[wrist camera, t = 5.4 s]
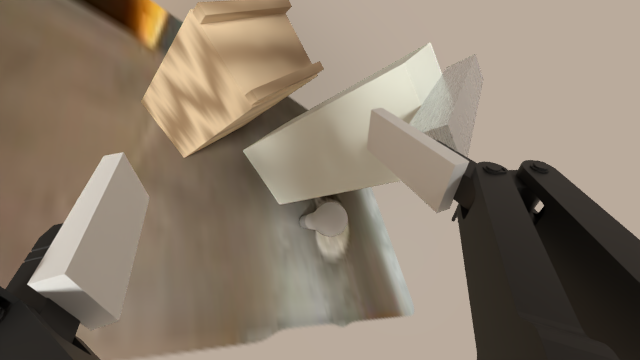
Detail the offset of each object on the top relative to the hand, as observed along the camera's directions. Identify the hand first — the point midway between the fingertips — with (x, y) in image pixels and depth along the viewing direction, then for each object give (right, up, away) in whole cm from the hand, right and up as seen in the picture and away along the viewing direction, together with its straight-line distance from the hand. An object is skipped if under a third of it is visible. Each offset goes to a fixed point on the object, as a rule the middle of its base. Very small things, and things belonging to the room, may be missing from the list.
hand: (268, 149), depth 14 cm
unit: (-5, +2, +35) cm, 35 cm away
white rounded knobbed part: (-1, -10, +36) cm, 37 cm away
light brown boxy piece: (-16, +8, +25) cm, 31 cm away
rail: (+16, +6, +13) cm, 21 cm away
